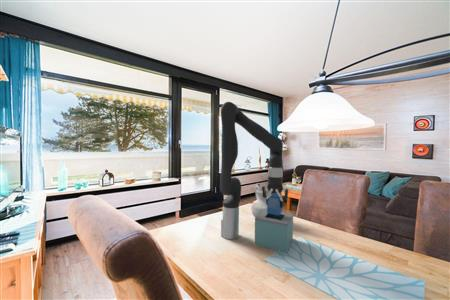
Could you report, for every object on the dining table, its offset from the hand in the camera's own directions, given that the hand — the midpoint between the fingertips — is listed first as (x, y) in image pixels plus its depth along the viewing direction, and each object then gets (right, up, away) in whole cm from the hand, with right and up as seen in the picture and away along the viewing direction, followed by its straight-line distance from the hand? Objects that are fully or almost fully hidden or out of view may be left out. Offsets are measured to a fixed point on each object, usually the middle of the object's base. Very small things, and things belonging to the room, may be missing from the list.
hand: (274, 206), depth 111 cm
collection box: (0, -19, +1) cm, 19 cm away
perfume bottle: (0, -3, 0) cm, 3 cm away
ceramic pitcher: (0, -18, +31) cm, 36 cm away
